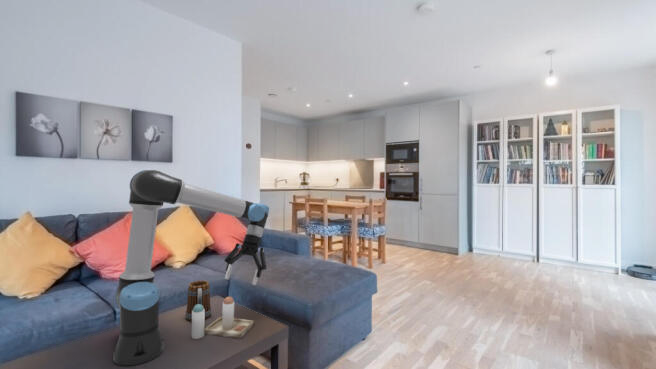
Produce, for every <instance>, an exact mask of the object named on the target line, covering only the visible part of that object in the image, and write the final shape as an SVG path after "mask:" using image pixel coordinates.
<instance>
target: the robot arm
mask: <svg viewBox="0 0 656 369" xmlns="http://www.w3.org/2000/svg"><path fill="white" fill-rule="evenodd" d="M129 190H130V193H129V201H128V205H129V206H131V208H132V213H131V219H130V220H131V221H130V230H129V237H128V245H127V253H126V262H125V267H124V268H125V269H124V271H123V272H122V273H120V275H119V277H118V279H119V280H118V285H117V288H116V290H115V296H114V297H115V300H116V304H117V306H118V311H119V336H118V339H117V342H116V346H115V348H114V350H113V362H114V364H116V365H119V366H123V367H124V366H126V367H127V366H136V365H140V364H144V363H147V362H149V361H152V360H154V359H155V358H158V356H160V355H161V354H162V353H163V351H164V348H165V342H164V339H163V337H162V334H161V331H160V328H159V327H160V326H159V318H160V317H159V316H160V314H159V312H160V310H159V309H160V308H159V304H160V300H159V298H160V291H159V290H160V289H159V286H158V285H157V284H156V283H155V282H154V280H155V273H154V272H153V271H152V261H153V254H154V248H155V247H154V246H155V239H156V231H157V230H156V229H157V222H158V216H159V210H160V209H161V208H163V207H164V203H165V204H169V205H176V204H182V205H186V206H189V207H190V206H191V207H195V208H199V209H202V210H207V211H211V212H215V213H219V214H223V215H228V216H232V217H237V218H240V219H243V220H246V221H248V224H247V225H248V226H247V230H246V232H245V233H246V234H245V235H244V238H243V244H240V243H238V242H237V243H236V244H235V246H234V248H233V249H232V250H231V252H229V254H228V255H227V256H226V257H225V259H224V262H225V263H226V268H225V272H226V273H225V275H224V279H225V280H230V277H231V274H232V271H233V267H234V265H233V264H234V263H235V262H236V261H238V260H239V259H240V258H241V257H243V256H248V257H249V256H250V257H252V258H253V260H254V263H255V265H256V267H257V269H255V271H254V272H255V273H254V276H253V280H252V283H251V285H254V286H256V285H257V282H258V279H260V278H261V274H262V273H263V271H266V270H267V263H266V257H265V256H266V255H265V250H266V249H265V248H263V247H260V244H261V241H262V237H263V234H264V230H265V227H266V224H267V220H268V217H269V213H270V207H269V206H268V205H266V204H265V203H260V202H253V201H248V200H245V199H241V198H237V197H234V196H230V195H227V194H223V193H220V192H216V191H213V190H209V189H207V188H202V187H199V186H196V185H191V184H188V183H185V182H184V181H183V179H180V178H177V177H175V176H171V175H169V174H166V173H165V172H163V171H160V170H157V169H145V170H141V171H139V172H137V173H135V174H133V176H132V177H131V179H130V181H129ZM240 249H241V250H240ZM257 253H259V256H258V254H257ZM259 258H260V259H259Z"/></svg>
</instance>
